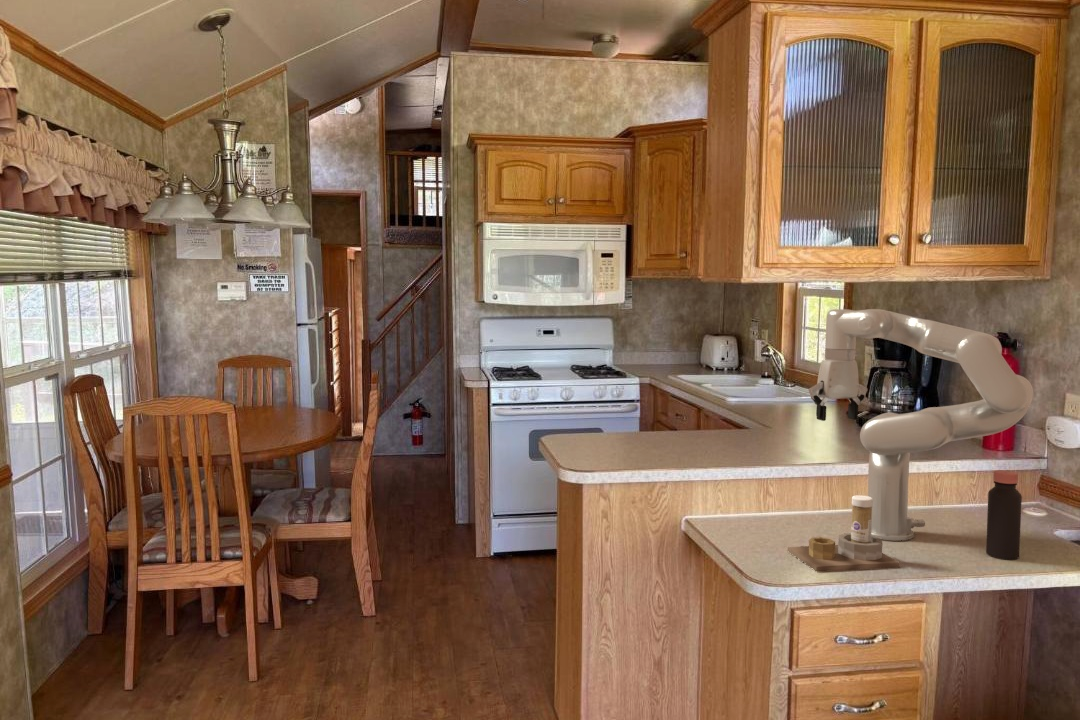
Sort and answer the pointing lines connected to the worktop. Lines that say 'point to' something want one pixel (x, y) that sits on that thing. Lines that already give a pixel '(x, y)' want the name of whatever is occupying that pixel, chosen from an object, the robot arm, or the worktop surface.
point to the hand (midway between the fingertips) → (836, 419)
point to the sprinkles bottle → (861, 519)
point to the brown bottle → (1004, 517)
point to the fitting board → (843, 554)
